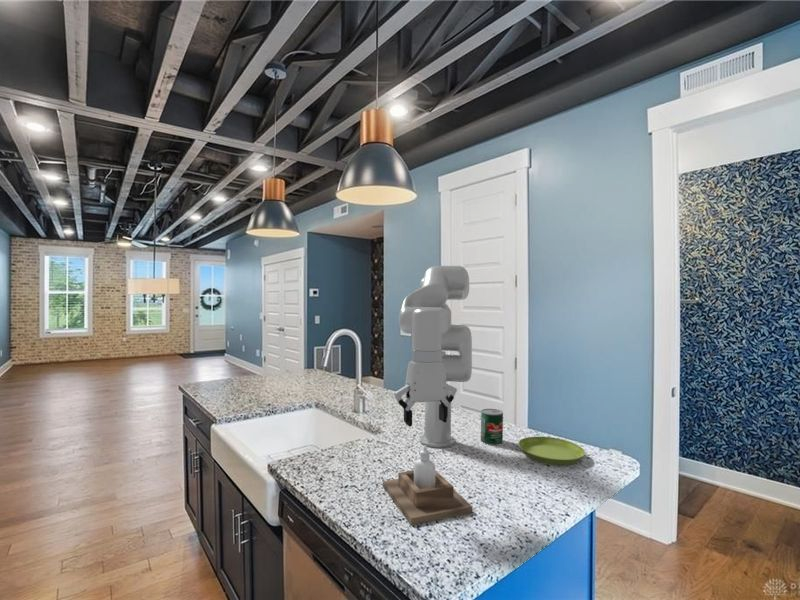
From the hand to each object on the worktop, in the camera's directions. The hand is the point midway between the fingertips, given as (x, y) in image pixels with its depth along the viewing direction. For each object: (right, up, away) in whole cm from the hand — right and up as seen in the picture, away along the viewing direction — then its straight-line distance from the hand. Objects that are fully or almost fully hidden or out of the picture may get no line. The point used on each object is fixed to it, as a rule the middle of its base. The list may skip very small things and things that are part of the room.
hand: (425, 422), depth 103 cm
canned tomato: (+27, -20, +43) cm, 55 cm away
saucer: (+44, -21, +30) cm, 57 cm away
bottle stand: (0, -19, -1) cm, 19 cm away
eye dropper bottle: (0, -18, 0) cm, 18 cm away
